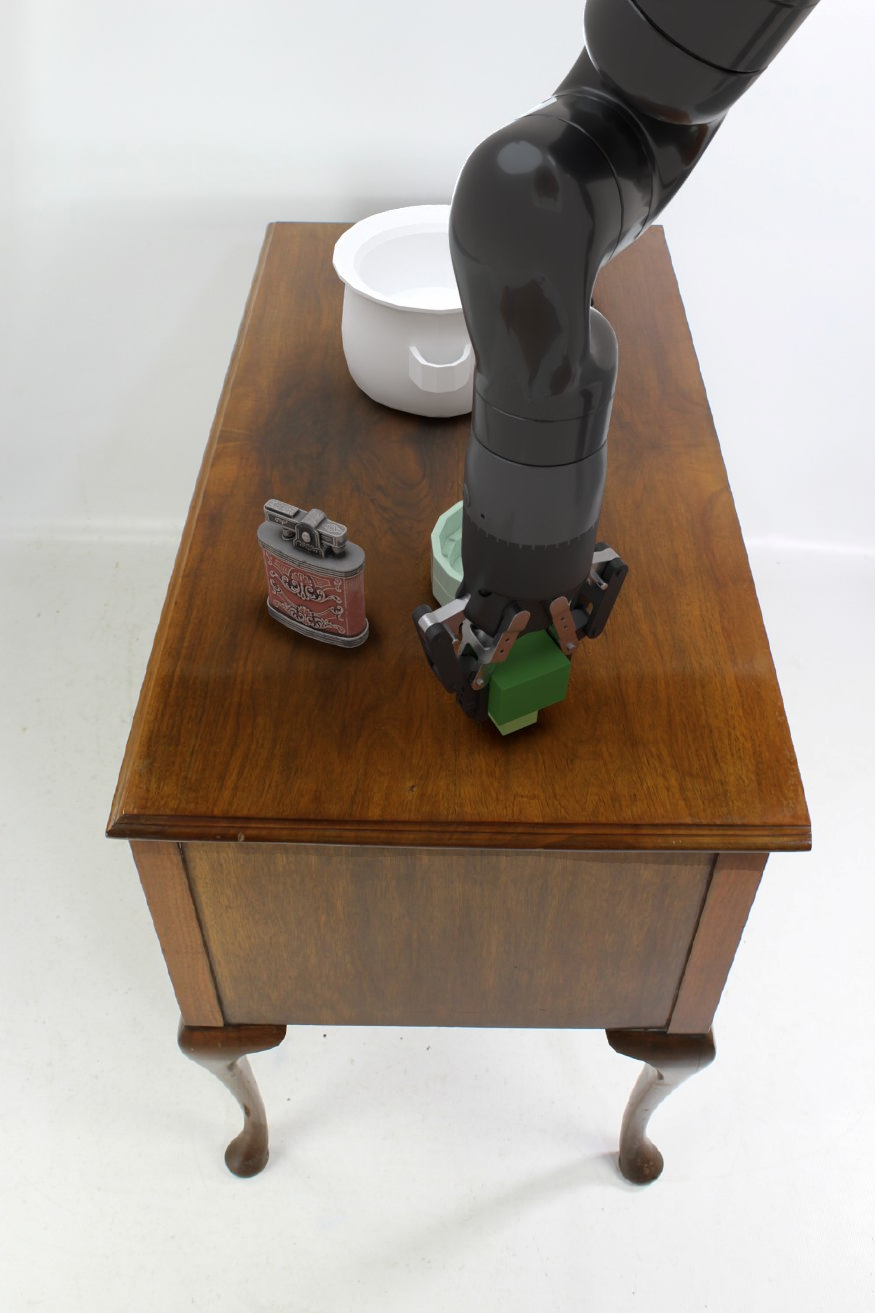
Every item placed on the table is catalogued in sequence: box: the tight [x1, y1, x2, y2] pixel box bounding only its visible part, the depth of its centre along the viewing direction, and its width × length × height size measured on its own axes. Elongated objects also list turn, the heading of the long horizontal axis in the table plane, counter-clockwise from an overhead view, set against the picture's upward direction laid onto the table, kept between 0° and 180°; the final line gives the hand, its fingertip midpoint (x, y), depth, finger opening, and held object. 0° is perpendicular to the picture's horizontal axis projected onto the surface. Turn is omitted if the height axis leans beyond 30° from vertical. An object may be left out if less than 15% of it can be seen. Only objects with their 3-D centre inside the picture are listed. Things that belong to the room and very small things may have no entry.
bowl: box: [429, 499, 571, 624], centre depth 78 cm, size 11×11×4 cm
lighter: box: [256, 498, 370, 649], centre depth 74 cm, size 8×3×10 cm, turn 62°
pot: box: [332, 204, 475, 418], centre depth 94 cm, size 22×17×12 cm
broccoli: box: [475, 629, 572, 736], centre depth 69 cm, size 5×5×6 cm
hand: (512, 696), depth 70 cm, fingers closed on broccoli, 5 cm apart
